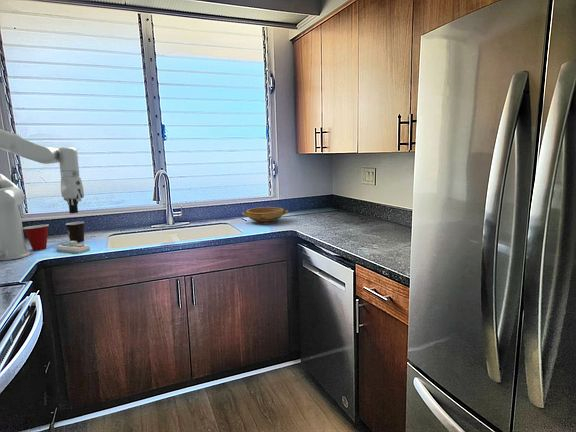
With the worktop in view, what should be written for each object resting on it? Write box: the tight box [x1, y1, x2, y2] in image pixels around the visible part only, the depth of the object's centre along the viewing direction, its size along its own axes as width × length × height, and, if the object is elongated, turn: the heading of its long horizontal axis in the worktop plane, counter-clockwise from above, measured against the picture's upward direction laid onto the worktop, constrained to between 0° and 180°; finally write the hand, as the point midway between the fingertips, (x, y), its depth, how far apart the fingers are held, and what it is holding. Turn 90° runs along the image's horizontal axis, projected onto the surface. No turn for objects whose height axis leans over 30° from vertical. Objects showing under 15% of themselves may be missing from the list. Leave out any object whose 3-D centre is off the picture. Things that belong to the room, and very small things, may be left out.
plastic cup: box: [23, 223, 50, 251], centre depth 182 cm, size 11×11×12 cm
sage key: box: [67, 240, 78, 246], centre depth 177 cm, size 2×3×2 cm
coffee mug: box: [65, 221, 85, 244], centre depth 194 cm, size 12×9×10 cm
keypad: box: [56, 244, 91, 254], centre depth 178 cm, size 6×15×2 cm, turn 68°
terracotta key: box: [75, 243, 85, 247], centre depth 176 cm, size 2×3×2 cm
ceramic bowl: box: [241, 206, 289, 225], centre depth 235 cm, size 30×24×8 cm
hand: (73, 212), depth 175 cm, fingers closed
